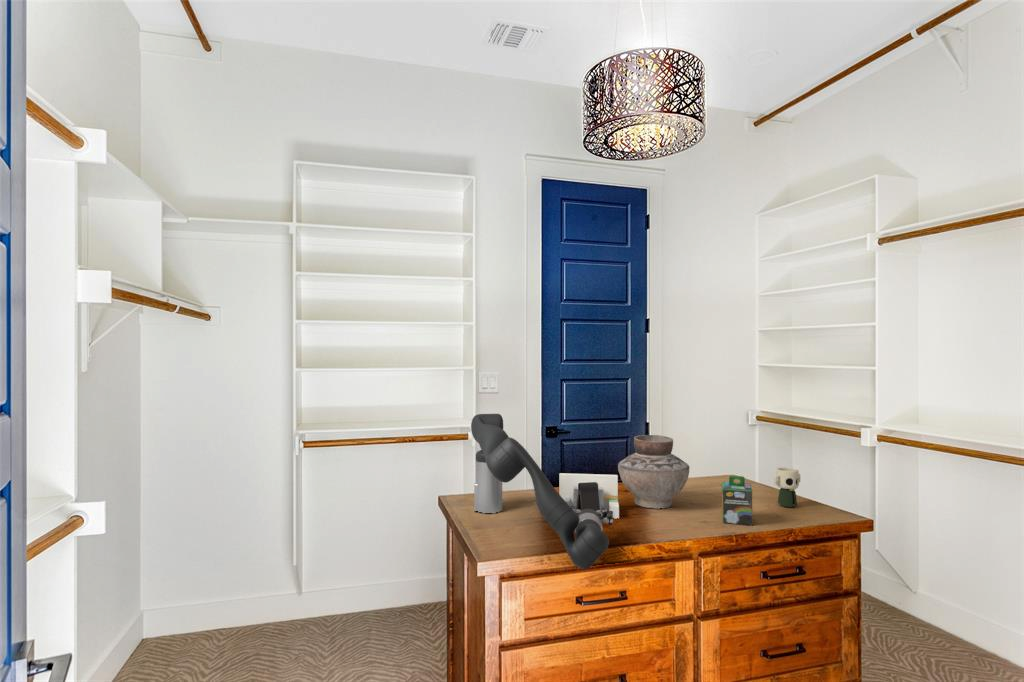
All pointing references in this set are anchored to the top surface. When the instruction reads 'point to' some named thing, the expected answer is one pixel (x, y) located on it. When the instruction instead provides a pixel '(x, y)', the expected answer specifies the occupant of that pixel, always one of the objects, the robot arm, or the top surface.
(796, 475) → the character mug
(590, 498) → the phone stand
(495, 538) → the top surface
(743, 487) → the chalk box
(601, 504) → the block and dowel assembly
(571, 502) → the panel and block assembly
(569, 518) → the robot arm
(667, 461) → the ceramic pot
